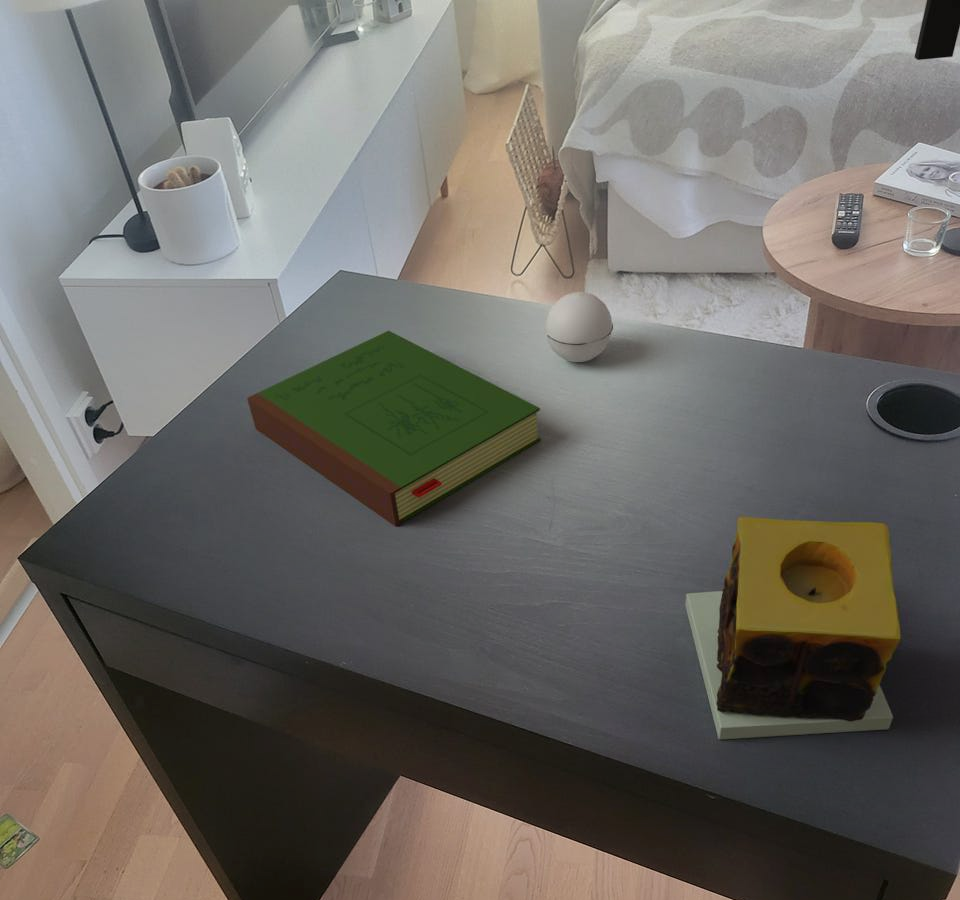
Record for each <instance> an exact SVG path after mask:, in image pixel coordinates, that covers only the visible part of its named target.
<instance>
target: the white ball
mask: <svg viewBox="0 0 960 900" xmlns="http://www.w3.org/2000/svg"><path fill="white" fill-rule="evenodd" d="M544 329H545V334H546V340H547V343H548V344H549V346H550V348H551V349H552V351H553V352H554V353H555V354H556V355H557V356H559V357H560V358H561V359H564V361H565V360H566V361H567V362H572V363H583V362H587V361H591V360H592V359H594V358H595V359H596V357H597V356H599V355H600V354H601V353H602V352H603V351H604V350H605V349H606V347H607V346H608V344H609V342H610V340H611V337H612V338H613V337H614V338H621V339H629V340H632V338H631V337H625V336H619V335H612V332H613V329H614V324H613V320H612V315H611V312H610V310H609V309H608V307H607V305H606V303H605V302H603V300H601V299H600V298H599V297H598V296H597V295H595V294H593V293H590V292H585V291H576V292H570V293H567V294H565V295H563V296H562V297H560V298H559V299H558V300H557V301H556V302H554V304H553V305H552V306H551V308H550V310H549V312H548V314H547V316H546V321H545V327H544Z"/></svg>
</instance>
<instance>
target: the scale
mask: <svg viewBox="0 0 960 900" xmlns="http://www.w3.org/2000/svg"><path fill="white" fill-rule="evenodd" d="M722 591H723V590H717V591H716V590H715V591H703V592H688V593H686V595H685V604H684V606H685V610H686V614H687V617H688V622H689V626H690V630H691V634H692V639H693V642H694V646H695V650H696V654H697V658H698V663H699V667H700V670H701V675H702V677H703V683H704V686H705V691H706V694H707V698H708V699H707V700H708V702H709V707H710V710H711V714H712V718H713V723H714V727H715V730H716V735H717V738H718V740H733V739H737V740H738V739H751V738H752V739H753V738H764V737H765V738H769V737H783V736H799V735H801V736H803V735H818V734H832V733H833V734H834V733H835V734H836V733H848V732H849V733H850V732H866V731H880V730H881V731H882V730H889V729H890V727H891V724H892V721H893V719H894V715H893V713H892V710H891V709H890V706H889V704H888V701H887V699H886V696H885V694H884V692H883V689H882V687H881V684H879V687H878V689H877V693H876V695H875V696H874V697H873V702H872V704H871V707H870V708H869V709H868V710H867V711H866V713H865V715H864V717H863V719H861V720H856V721H851V722H850V721H846V720H842V719H833V718H813V719H811V718H797V717H776V716H768V715H761V716H755V715H752V714H748V713H741V714H738V713H733V712H731V711H728V712H724V713H722V712H720V711H718V710H717V703H716V702H717V693H718V689H719V687H720V685H721V678H722V672H721V671H720V670H719V669H718V668H717V664H718V663H719V662H718V661H717V651H718V635H719V633H718V629H719V619H720V613H719V608H720V603H721V598H722V593H723V592H722Z"/></svg>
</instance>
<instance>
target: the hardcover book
mask: <svg viewBox="0 0 960 900" xmlns="http://www.w3.org/2000/svg"><path fill="white" fill-rule="evenodd" d="M246 399H247V403H248V407H249V410H250V413H251V418H252V420H253V425H254V428H255V430H256V431H258V432H260V433H261V434H262V435H264V436H265V437H266V438H268V439H269V440H271V441H272V442H274V443H275V444H277V445H278V446H279V447H280V448H283V449H284V450H285V451H286V452H288V453H289V454H291V455H292V456H293V457H295V458H297V459H298V460H299V461H301V462H302V463H304V464H305V465H306V466H308V467H309V468H311V469H312V470H314V471H315V472H317V474H319V475H321V476H322V477H324V478H325V479H327V480H328V481H330V482H331V483H333V485H335V486H337V487H339V488H340V489H341V490H343V491H344V492H346V494H348V495H350V496H351V497H352V498H354V499H356V500H357V501H358V502H360V503H362V505H364V506H365V507H367V508H369V509H370V510H371V511H372V512H374V513H375V514H377V515H378V516H380V517H381V518H383V519H384V520H385V521H387V522H389V524H391V525H392V526H394V527H398V526H400V525H401V524H402V523H404V522H406V521H408V520H410V519H411V518H413V517H414V516H416V515H418V514H419V513H421V512H423V511H424V510H426V509H428V508H430V507H432V506H433V505H435V504H437V503H438V502H440V501H441V500H443V499H445V498H446V497H448V496H450V495H452V494H454V493H455V492H457V491H458V490H460V489H462V488H463V487H465V486H467V485H469V484H470V483H472V482H474V481H475V480H477V479H479V478H480V477H482V476H484V475H485V474H487V473H488V472H491V471H493V470H494V469H496V468H497V467H499V466H501V465H503V464H504V463H506V462H507V461H509V460H511V459H512V458H514V457H516V456H517V455H519V454H521V453H523V452H524V451H526V450H528V449H530V448H531V447H534V445H536V444H538V443H539V442H541V441H542V437H539V436H538V416H537V413H538V412H539V411H540V410H541V407H539V406H537V405H535V404H534V403H531V402H529V401H527V400H526V399H523V398H521V397H519V396H518V395H516V394H513V393H512V392H510V391H507V390H505V389H504V388H502V387H500V386H498V385H496V384H494V383H493V382H490V381H488V380H486V379H484V378H483V377H481V376H479V375H477V374H474V373H473V372H471V371H468V370H467V369H465V368H463V367H461V366H459V365H457V364H455V363H453V362H451V361H449V360H447V359H446V358H443V357H441V356H440V355H437V354H436V353H434V352H431V351H430V350H428V349H426V348H424V347H422V346H420V345H418V344H416V343H414V342H412V341H410V340H408V339H406V338H405V337H402V336H401V335H398V334H396V333H395V332H393V331H391V330H387V331H384V332H382V333H380V334H378V335H376V336H374V337H372V338H370V339H368V340H366V341H364V342H361V343H359V344H357V345H355V346H353V347H351V348H349V349H346V350H344V351H343V352H340V353H338V354H336V355H334V356H332V357H330V358H328V359H325V360H323V361H321V362H319V363H317V364H315V365H313V366H311V367H309V368H307V369H305V370H303V371H301V372H298V373H296V374H294V375H292V376H289V377H287V378H286V379H284V380H282V381H279V382H277V383H275V384H273V385H271V386H269V387H267V388H264V389H262V390H261V391H258V392H256V393H254V394H252V395H250V396H248V397H246Z"/></svg>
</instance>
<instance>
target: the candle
mask: <svg viewBox="0 0 960 900" xmlns="http://www.w3.org/2000/svg"><path fill="white" fill-rule="evenodd" d="M736 527H737V530H736V535H735V540H734V543H733V545H732V548H731V559H730V566H729V568H728V570H727V574H726V576H725V578H724V582H723V586H724V587H723V588H722V590H721V591H722V592H723V593H722V598H721V603H720V608H719V613H720V619H719V629H718V633H719V635H718V651H717V661H718V662H719V663H718V664H717V668H718V669H719V670H720V671H721V672H722V678H721V685H720V687H719V689H718V693H717V702H716V703H717V710H718V711H720V712H722V713H724V712H728V711H731V712H733V713H738V714H741V713H748V714H752V715H755V716H761V715H768V716H776V717H797V718H811V719H813V718H833V719H842V720H846V721H850V722H851V721H856V720H861V719H863V717H864V715H865V713H866V711H867V710H868V709H869V708H870V707H871V704H872V702H873V697H874V696H875V695H876V693H877V689H878V687H879V685H881V682H882V678H883V676H884V675H885V672H886V670H887V663H888V662H890V661H891V660H892V657H893V654H894V652H895V651H896V649H897V647H898V646H899V643H900V642H901V637H902V636H901V627H900V626H901V625H900V617H899V610H898V604H897V599H896V595H895V586H894V579H893V567H892V552H891V541H890V532H889V527H888V526H887V525H886V524H885V523H884V522H873V521H841V522H840V521H838V522H837V521H821V520H818V521H817V520H794V519H793V520H792V519H776V518H764V517H750V516H740V517H738V519H737V522H736Z"/></svg>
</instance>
